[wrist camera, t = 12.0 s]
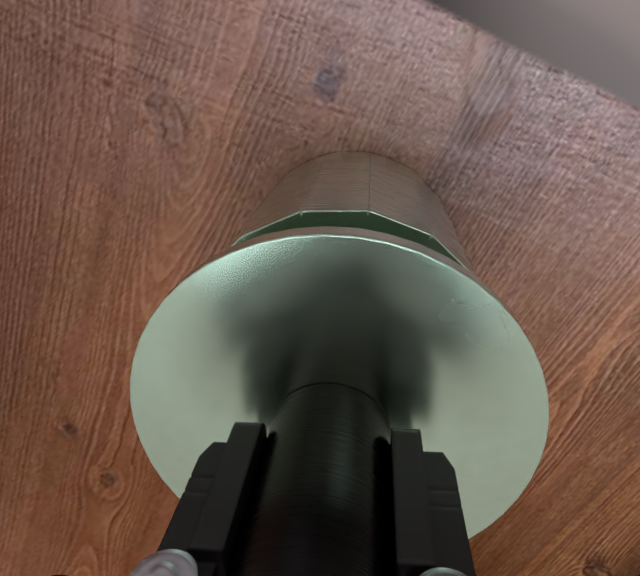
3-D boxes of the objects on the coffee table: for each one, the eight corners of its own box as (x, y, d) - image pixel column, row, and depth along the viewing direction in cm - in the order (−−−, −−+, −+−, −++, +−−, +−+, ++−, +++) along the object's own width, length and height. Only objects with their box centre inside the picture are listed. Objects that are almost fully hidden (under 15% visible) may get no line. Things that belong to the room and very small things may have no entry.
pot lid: (180, 524, 17) (73, 782, 11) (109, 220, 12) (-150, 376, 6) (508, 545, 16) (591, 849, 10) (569, 215, 11) (806, 408, 5)
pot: (264, 333, 28) (211, 463, 19) (245, 153, 24) (166, 211, 15) (444, 336, 27) (478, 476, 18) (459, 148, 23) (515, 208, 14)
